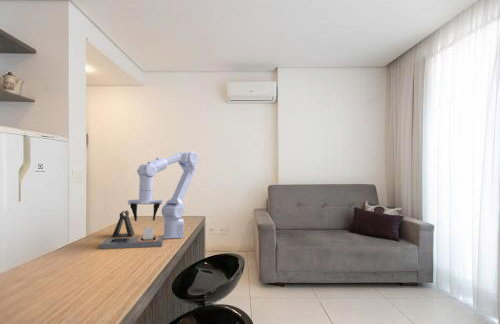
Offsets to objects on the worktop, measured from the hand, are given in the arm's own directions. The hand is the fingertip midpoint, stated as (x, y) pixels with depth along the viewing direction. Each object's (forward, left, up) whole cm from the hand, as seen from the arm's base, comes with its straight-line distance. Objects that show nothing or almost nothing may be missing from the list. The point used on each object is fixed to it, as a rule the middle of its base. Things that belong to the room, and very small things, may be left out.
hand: (144, 220), depth 128 cm
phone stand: (+11, -17, -10) cm, 23 cm away
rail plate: (+4, +3, -10) cm, 11 cm away
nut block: (-2, +3, -10) cm, 11 cm away
